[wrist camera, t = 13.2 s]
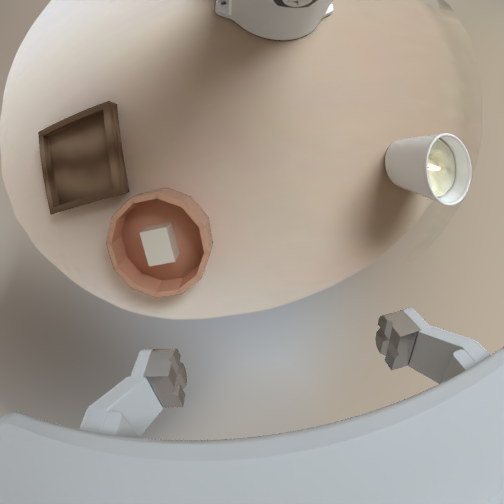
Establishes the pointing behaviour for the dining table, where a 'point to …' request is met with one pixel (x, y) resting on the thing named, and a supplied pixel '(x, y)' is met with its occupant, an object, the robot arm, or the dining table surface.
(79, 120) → the walnut tray
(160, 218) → the terracotta bowl
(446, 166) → the candle holder
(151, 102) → the dining table surface
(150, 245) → the off-white cube block
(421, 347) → the robot arm
